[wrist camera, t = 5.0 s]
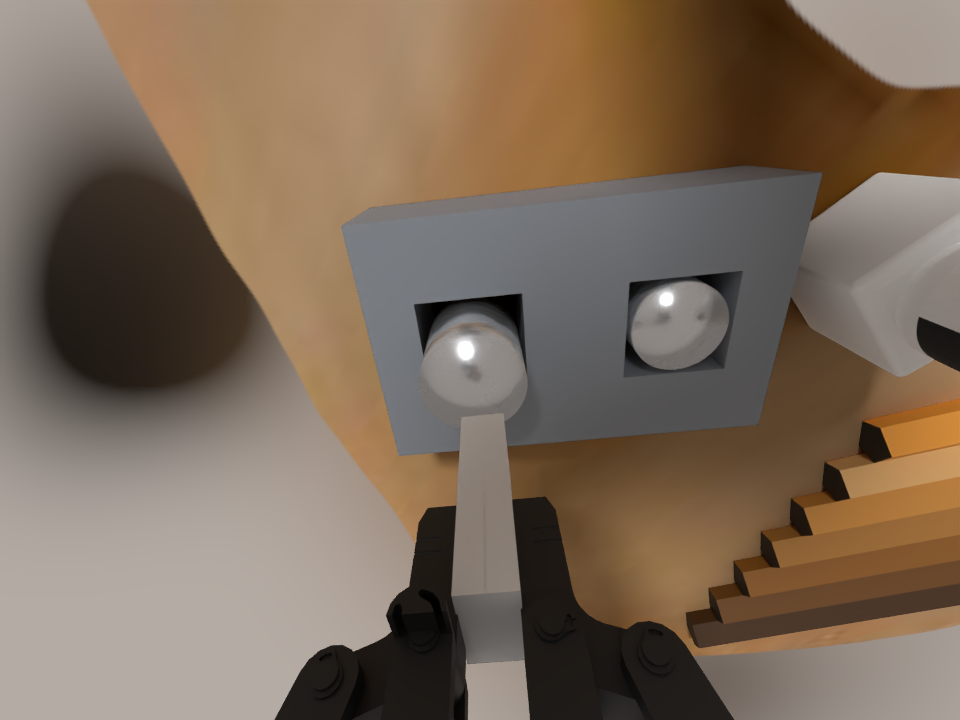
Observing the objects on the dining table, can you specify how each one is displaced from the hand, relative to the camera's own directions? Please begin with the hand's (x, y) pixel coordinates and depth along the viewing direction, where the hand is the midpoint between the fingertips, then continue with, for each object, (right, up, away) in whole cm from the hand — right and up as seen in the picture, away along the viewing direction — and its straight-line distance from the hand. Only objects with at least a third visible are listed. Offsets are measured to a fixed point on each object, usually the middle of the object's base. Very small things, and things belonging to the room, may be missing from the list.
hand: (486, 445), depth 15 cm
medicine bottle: (+23, +10, +11) cm, 27 cm away
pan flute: (+31, -12, +24) cm, 41 cm away
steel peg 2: (+10, +7, +11) cm, 17 cm away
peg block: (+5, +7, +12) cm, 15 cm away
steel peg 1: (-1, +4, +8) cm, 9 cm away
